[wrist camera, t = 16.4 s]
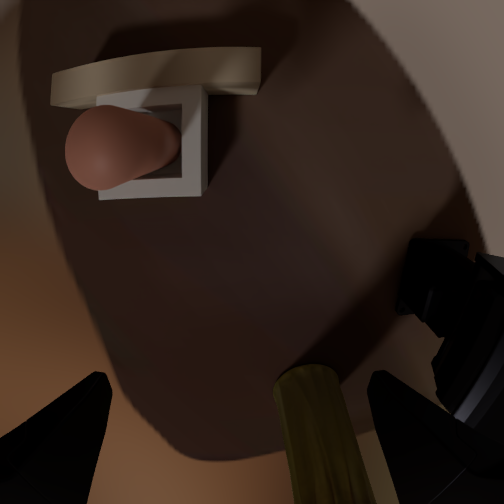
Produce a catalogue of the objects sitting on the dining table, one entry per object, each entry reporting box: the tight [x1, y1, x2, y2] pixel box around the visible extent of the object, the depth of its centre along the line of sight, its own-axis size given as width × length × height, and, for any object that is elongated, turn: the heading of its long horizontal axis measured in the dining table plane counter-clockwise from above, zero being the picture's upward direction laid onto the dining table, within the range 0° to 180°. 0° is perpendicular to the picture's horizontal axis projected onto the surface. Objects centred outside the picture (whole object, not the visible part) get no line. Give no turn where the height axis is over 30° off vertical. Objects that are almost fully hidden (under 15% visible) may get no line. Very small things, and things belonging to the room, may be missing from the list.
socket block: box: [96, 85, 208, 200], centre depth 16 cm, size 6×6×4 cm
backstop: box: [50, 47, 261, 109], centre depth 15 cm, size 12×2×4 cm, turn 89°
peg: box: [65, 105, 182, 190], centre depth 13 cm, size 3×3×9 cm
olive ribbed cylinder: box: [273, 364, 377, 504], centre depth 19 cm, size 6×6×14 cm
